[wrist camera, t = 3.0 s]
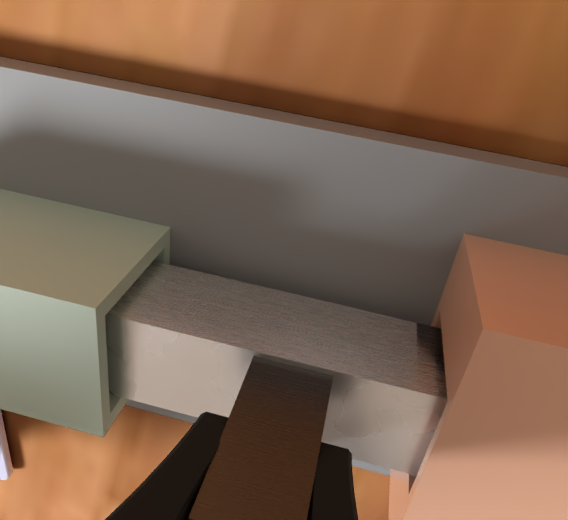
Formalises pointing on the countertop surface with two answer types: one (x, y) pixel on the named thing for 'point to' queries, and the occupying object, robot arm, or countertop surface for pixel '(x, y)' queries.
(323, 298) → the base board
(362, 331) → the sliding bolt
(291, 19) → the countertop surface
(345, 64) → the countertop surface
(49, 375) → the outer sleeve
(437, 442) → the socket block
